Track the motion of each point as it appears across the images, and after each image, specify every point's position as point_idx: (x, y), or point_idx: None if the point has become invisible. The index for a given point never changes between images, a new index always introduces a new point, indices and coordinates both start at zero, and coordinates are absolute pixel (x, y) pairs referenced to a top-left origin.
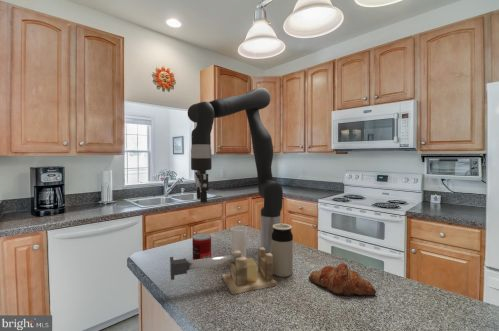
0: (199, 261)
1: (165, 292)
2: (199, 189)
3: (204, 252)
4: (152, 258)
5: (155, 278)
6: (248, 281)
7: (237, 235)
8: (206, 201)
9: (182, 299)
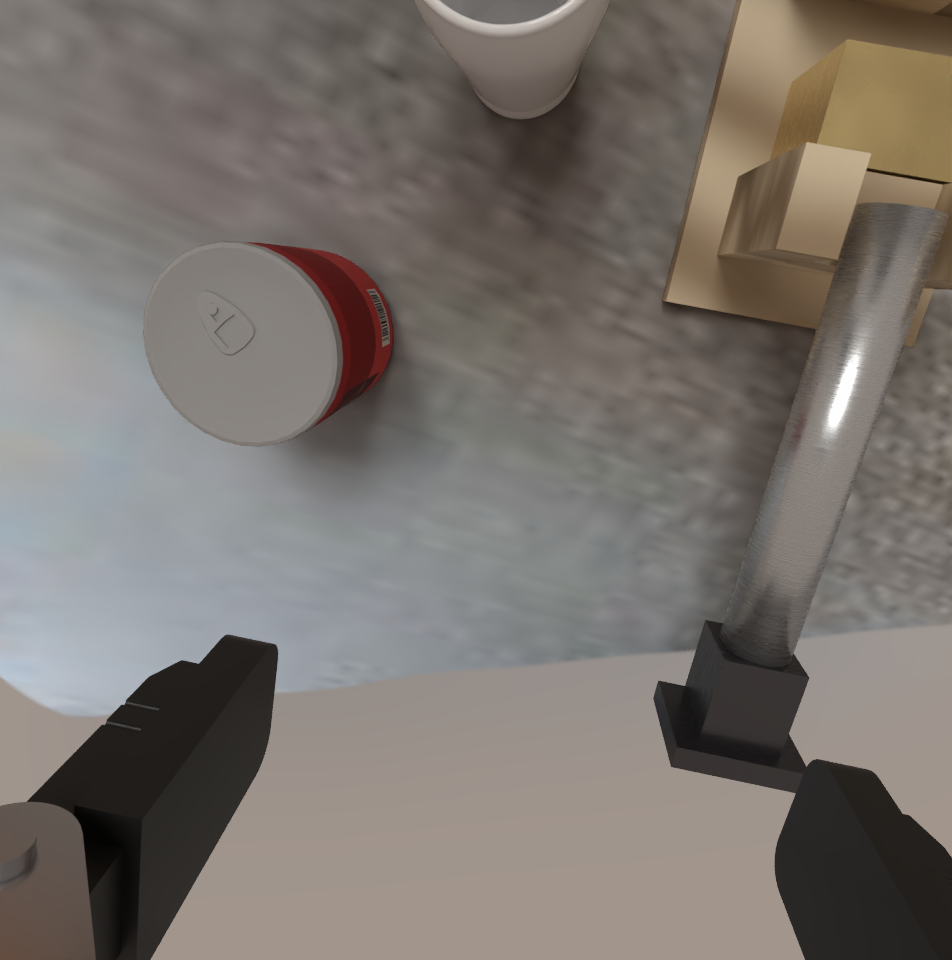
0: (814, 578)
1: (628, 654)
2: (127, 912)
3: (372, 343)
4: (118, 613)
5: (432, 660)
6: None
7: (598, 10)
8: (869, 780)
9: None
